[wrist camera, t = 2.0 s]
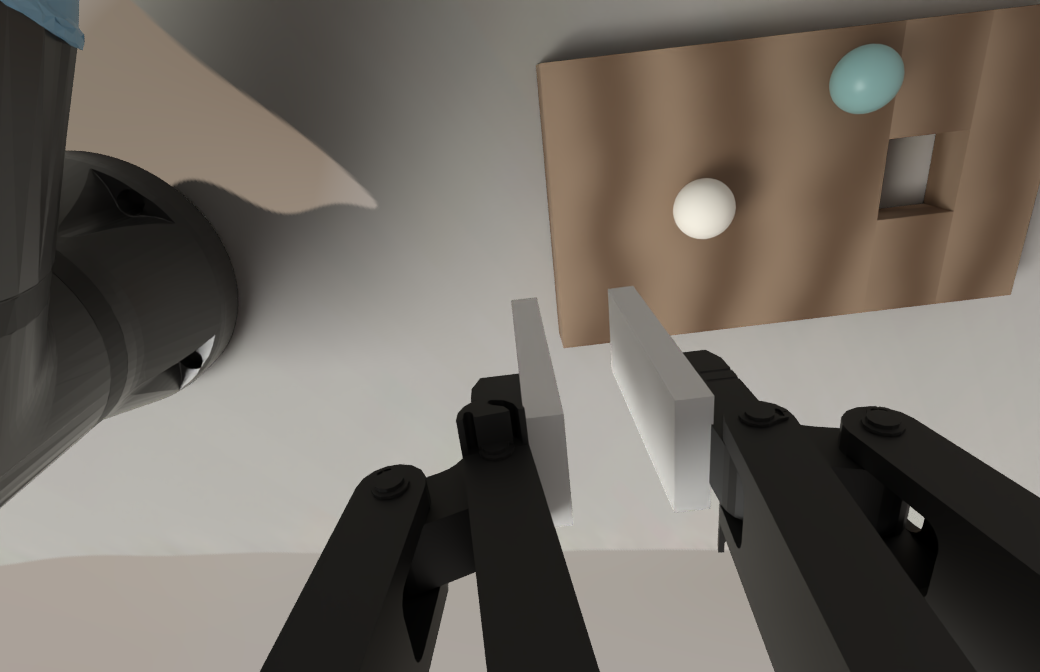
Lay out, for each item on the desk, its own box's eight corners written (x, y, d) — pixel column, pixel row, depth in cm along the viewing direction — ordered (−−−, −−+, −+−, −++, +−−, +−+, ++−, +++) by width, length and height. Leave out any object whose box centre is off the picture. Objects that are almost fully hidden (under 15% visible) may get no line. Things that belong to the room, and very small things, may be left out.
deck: (559, 332, 37) (563, 348, 35) (535, 65, 31) (539, 63, 28) (978, 282, 37) (1010, 294, 35) (1043, 5, 31) (1087, -2, 29)
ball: (665, 234, 32) (683, 248, 29) (665, 177, 31) (684, 186, 28) (721, 228, 32) (744, 241, 29) (723, 171, 31) (747, 179, 28)
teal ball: (813, 116, 30) (848, 119, 27) (820, 49, 29) (857, 45, 26) (872, 109, 30) (913, 111, 27) (881, 42, 29) (926, 37, 26)
